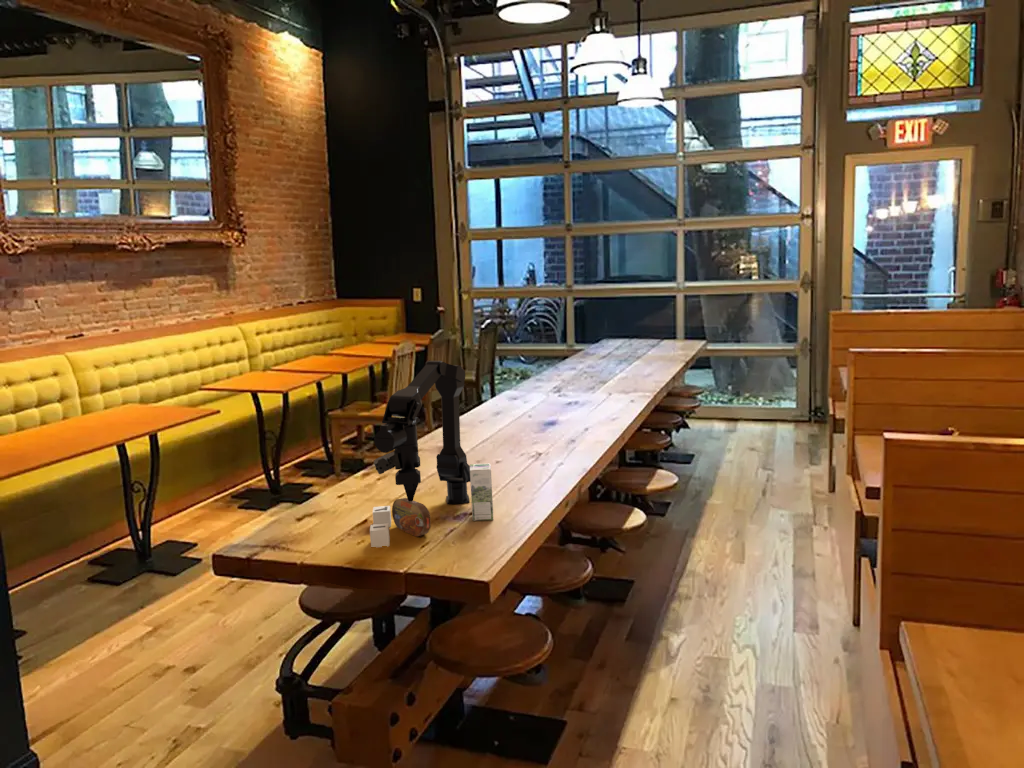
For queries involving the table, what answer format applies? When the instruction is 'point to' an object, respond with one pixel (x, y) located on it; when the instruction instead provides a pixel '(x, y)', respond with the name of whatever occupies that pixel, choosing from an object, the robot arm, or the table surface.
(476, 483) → the syrup box
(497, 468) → the table surface
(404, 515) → the tin
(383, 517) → the lettered block t
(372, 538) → the lettered block i
